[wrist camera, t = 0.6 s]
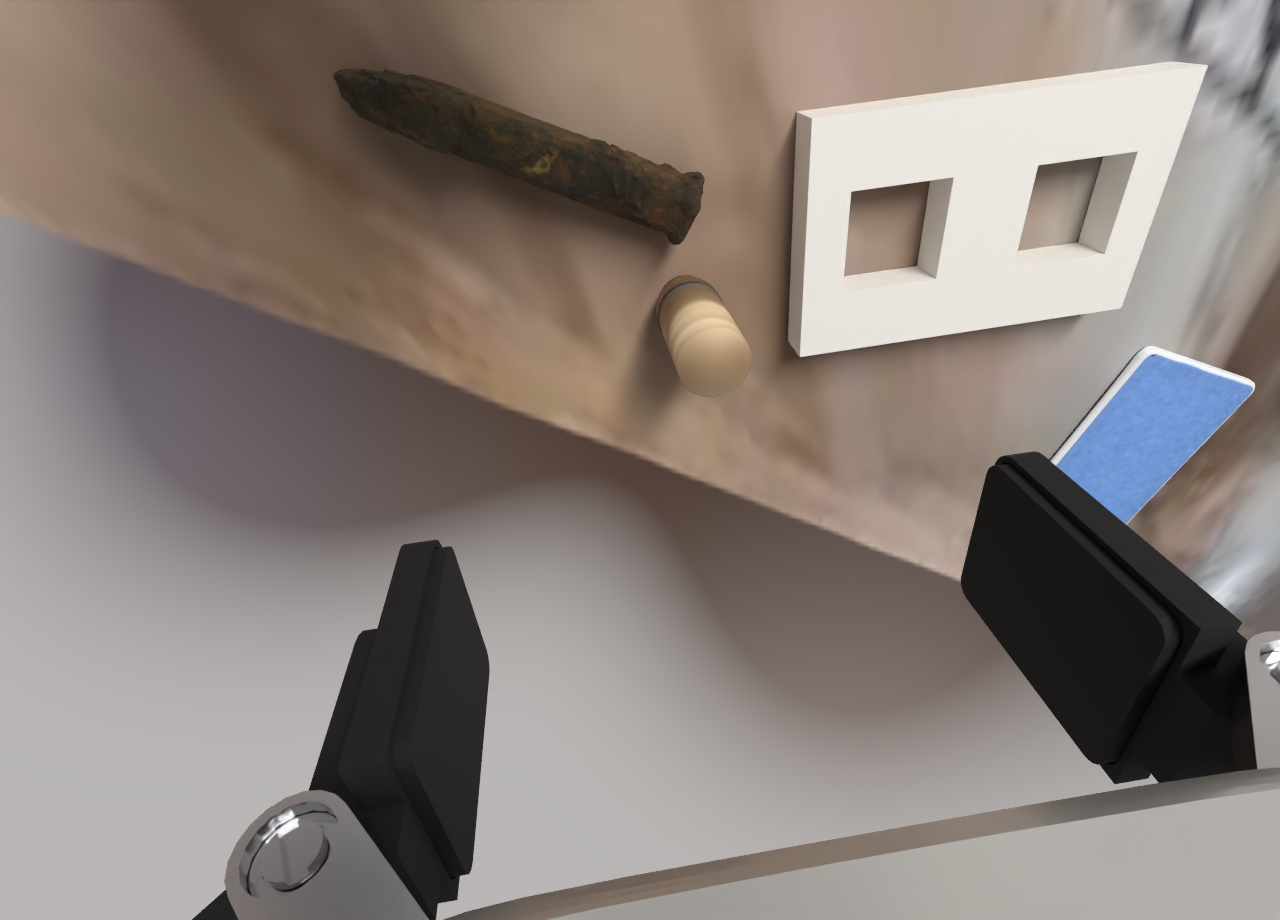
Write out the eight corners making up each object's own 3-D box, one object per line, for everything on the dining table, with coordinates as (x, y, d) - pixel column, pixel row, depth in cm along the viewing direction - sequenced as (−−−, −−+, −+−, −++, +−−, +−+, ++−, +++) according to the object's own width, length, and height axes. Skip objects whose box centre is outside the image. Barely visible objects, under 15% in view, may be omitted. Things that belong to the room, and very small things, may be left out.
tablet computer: (1088, 550, 63) (1097, 560, 62) (984, 529, 59) (993, 539, 58) (1249, 377, 53) (1264, 385, 52) (1137, 339, 49) (1150, 346, 48)
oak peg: (649, 273, 41) (674, 334, 33) (713, 264, 41) (752, 322, 33) (654, 333, 43) (679, 403, 36) (715, 324, 43) (752, 391, 36)
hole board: (796, 111, 36) (812, 118, 34) (1171, 61, 37) (1207, 65, 35) (787, 340, 45) (799, 357, 43) (1095, 294, 46) (1120, 308, 44)
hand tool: (701, 168, 38) (719, 187, 34) (671, 234, 40) (685, 259, 36) (355, 9, 31) (330, 10, 28) (340, 96, 33) (315, 108, 30)
